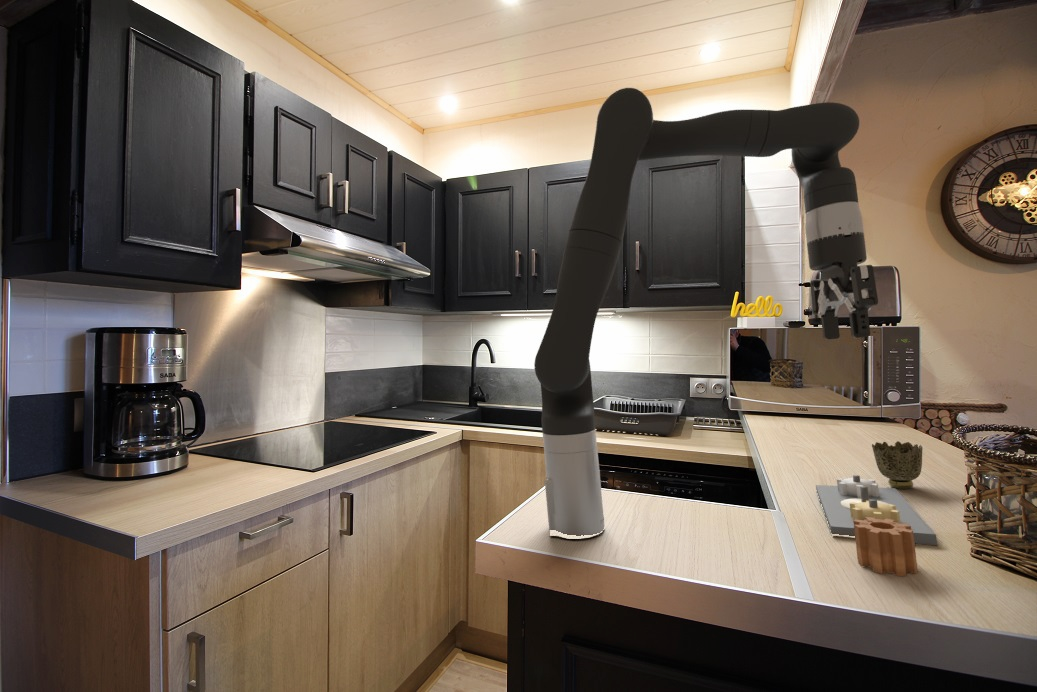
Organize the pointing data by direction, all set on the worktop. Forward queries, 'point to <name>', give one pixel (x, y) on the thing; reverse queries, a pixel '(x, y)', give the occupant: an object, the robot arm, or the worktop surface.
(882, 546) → the idler gear
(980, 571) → the worktop surface
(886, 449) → the cup
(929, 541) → the gear board
